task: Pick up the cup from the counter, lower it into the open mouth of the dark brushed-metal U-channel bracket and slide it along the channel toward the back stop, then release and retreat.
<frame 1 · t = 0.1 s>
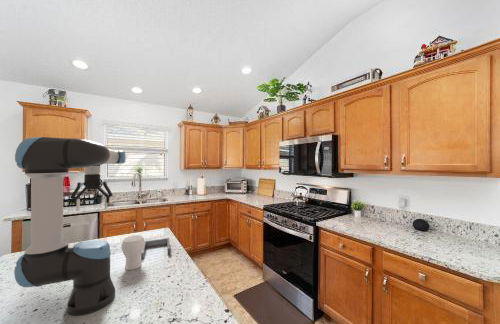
hand: (92, 209, 122), 28 cm above the countertop, fingers open, 13 cm apart
cup: (133, 266, 110), on the countertop
channel: (156, 251, 128), on the countertop
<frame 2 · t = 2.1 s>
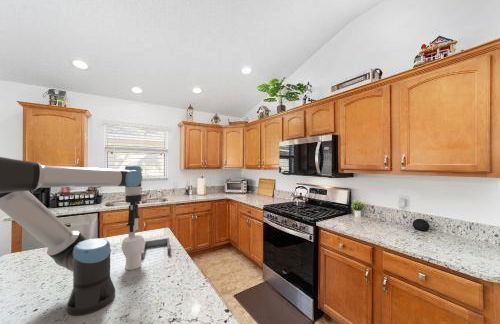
hand: (133, 234, 110), 17 cm above the countertop, fingers open, 13 cm apart
nothing on the countertop moved.
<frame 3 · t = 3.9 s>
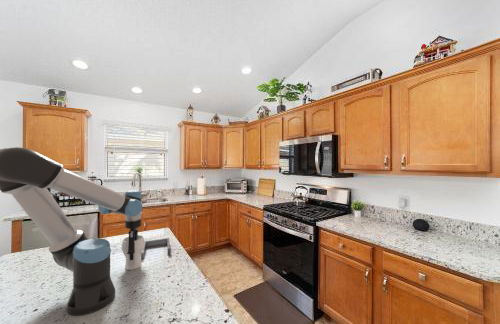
hand: (133, 260, 110), 3 cm above the countertop, fingers closed on cup, 11 cm apart
cup: (133, 266, 110), on the countertop, touching gripper
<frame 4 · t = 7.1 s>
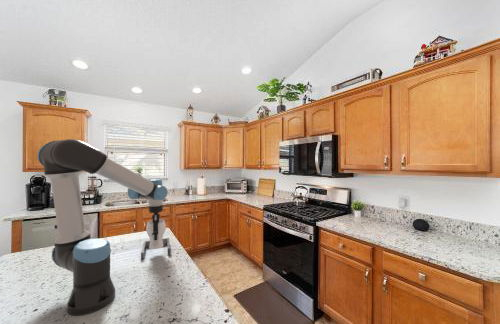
hand: (156, 241, 123), 8 cm above the countertop, fingers closed on cup, 11 cm apart
cup: (156, 247, 123), point 5 cm above the countertop, touching gripper
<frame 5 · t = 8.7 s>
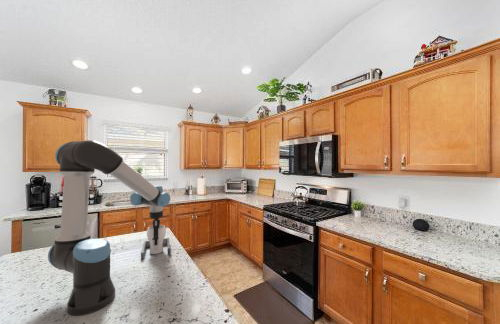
hand: (156, 246, 127), 4 cm above the countertop, fingers closed on cup, 11 cm apart
cup: (156, 251, 127), point 1 cm above the countertop, touching gripper
when the fingers open (3 cm above the countertop, at t = 10.4 s): cup stays where it is, resting in channel.
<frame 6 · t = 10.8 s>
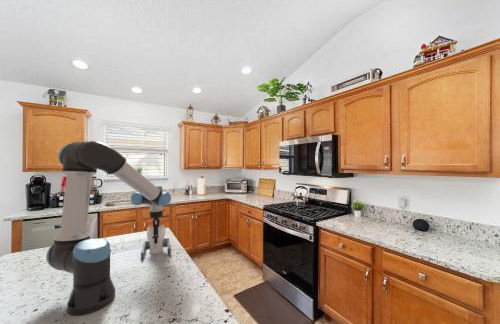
hand: (156, 244, 128), 4 cm above the countertop, fingers open, 13 cm apart
cup: (156, 251, 128), resting in channel
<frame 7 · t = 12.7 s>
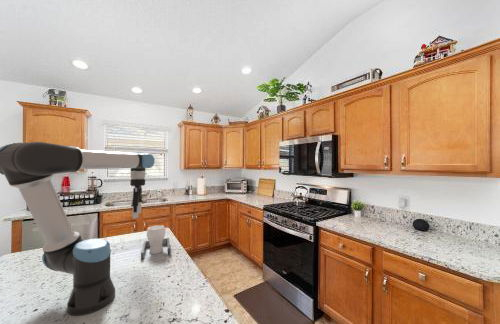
hand: (136, 215, 118), 25 cm above the countertop, fingers open, 13 cm apart
nothing on the countertop moved.
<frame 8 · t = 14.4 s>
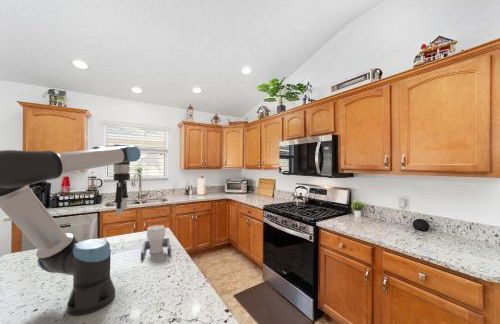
hand: (121, 212, 111), 29 cm above the countertop, fingers open, 13 cm apart
nothing on the countertop moved.
at the end: cup inside the target area on the channel (2.0 cm from its centre), point 0.0 cm above the channel's base; cup tilted 0°; the gripper is holding nothing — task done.
